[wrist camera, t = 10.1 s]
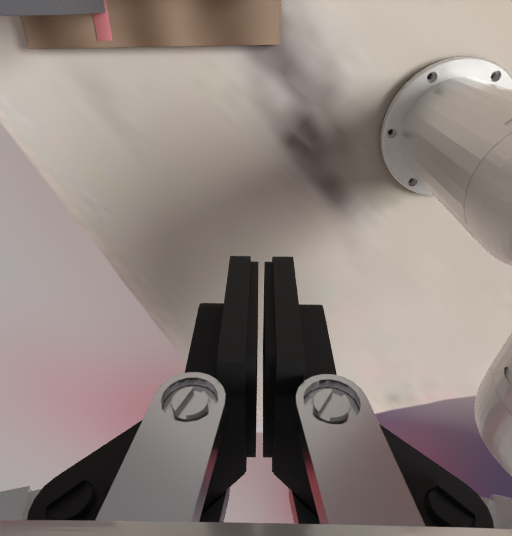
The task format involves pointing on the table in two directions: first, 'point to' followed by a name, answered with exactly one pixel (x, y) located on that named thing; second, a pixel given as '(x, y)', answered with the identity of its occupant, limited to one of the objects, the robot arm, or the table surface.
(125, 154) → the table surface
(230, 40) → the pipe rig
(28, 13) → the collar
